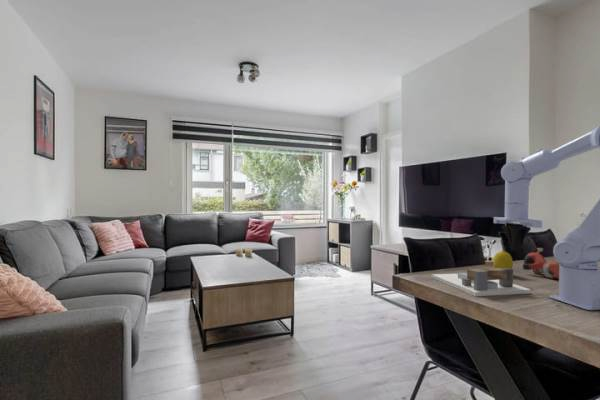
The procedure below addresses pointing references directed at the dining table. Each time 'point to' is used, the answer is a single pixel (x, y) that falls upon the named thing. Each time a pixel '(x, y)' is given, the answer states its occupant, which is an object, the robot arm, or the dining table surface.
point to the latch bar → (495, 275)
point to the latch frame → (479, 284)
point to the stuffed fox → (541, 264)
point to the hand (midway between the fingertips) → (515, 250)
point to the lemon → (502, 260)
